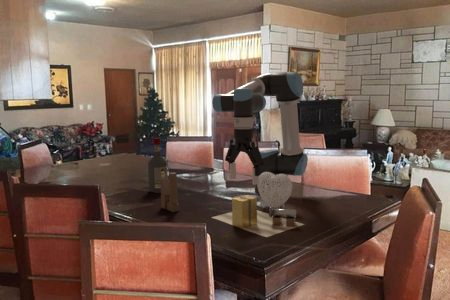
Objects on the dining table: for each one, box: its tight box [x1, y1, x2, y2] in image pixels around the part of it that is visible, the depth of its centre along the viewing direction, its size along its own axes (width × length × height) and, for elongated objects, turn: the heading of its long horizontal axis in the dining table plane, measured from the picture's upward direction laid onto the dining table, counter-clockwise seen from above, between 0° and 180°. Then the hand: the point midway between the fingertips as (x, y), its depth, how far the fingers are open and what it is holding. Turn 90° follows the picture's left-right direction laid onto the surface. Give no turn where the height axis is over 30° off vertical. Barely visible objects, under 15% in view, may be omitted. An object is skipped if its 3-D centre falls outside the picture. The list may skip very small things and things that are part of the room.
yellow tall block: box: [231, 194, 258, 230], centre depth 160 cm, size 8×6×11 cm
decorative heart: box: [257, 172, 293, 209], centre depth 184 cm, size 18×11×17 cm, turn 48°
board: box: [210, 209, 305, 238], centre depth 166 cm, size 22×33×1 cm, turn 40°
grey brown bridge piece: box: [268, 207, 297, 227], centre depth 160 cm, size 10×5×7 cm, turn 75°
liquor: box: [147, 137, 169, 194], centre depth 222 cm, size 9×9×30 cm
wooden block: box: [160, 172, 180, 213], centre depth 186 cm, size 4×11×18 cm, turn 39°
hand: (243, 181), depth 159 cm, fingers open, 13 cm apart
